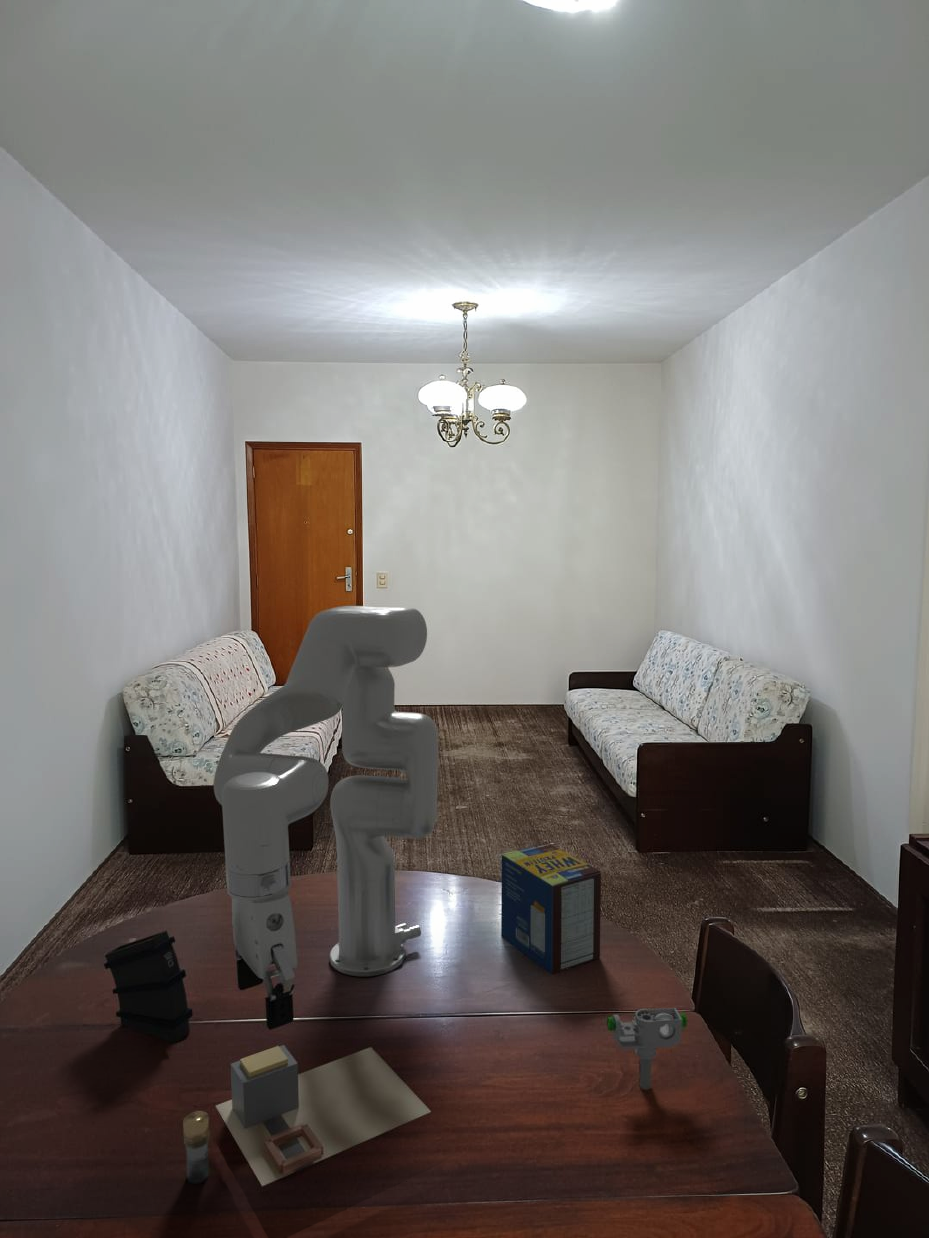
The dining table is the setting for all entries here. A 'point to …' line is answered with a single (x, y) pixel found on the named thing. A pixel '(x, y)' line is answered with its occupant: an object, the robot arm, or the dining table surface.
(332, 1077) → the board
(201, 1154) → the gold capped bottle
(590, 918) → the protein box
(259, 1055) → the grey boxy piece
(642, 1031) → the mechanical component
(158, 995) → the magazine
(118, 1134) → the dining table surface
